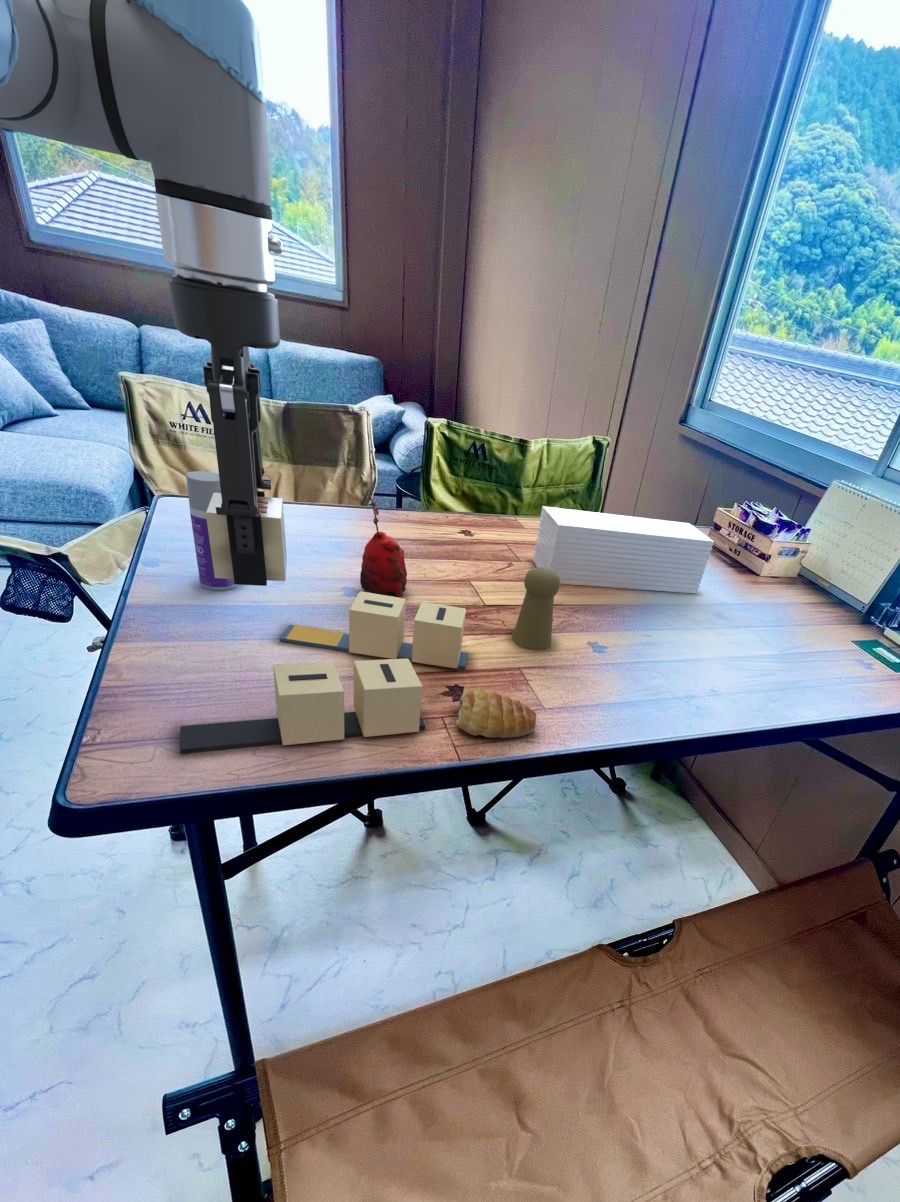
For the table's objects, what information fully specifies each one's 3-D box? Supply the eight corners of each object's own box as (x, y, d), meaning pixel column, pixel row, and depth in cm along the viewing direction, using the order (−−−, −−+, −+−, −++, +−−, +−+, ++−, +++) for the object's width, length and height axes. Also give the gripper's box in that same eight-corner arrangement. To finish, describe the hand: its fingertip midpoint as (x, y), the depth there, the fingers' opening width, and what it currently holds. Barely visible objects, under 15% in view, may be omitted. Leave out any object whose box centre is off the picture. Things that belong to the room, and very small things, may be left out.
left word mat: (180, 759, 59) (169, 701, 55) (181, 724, 63) (170, 668, 59) (427, 734, 70) (432, 684, 66) (413, 705, 74) (417, 656, 70)
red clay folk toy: (413, 599, 98) (419, 502, 89) (370, 602, 94) (372, 502, 86) (394, 580, 103) (398, 486, 94) (352, 582, 99) (352, 485, 90)
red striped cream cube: (214, 578, 57) (205, 511, 54) (221, 554, 62) (213, 491, 58) (285, 581, 59) (280, 517, 56) (286, 558, 64) (282, 497, 60)
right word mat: (276, 644, 79) (273, 596, 75) (291, 624, 84) (289, 578, 80) (464, 673, 82) (470, 628, 79) (468, 652, 87) (473, 609, 83)
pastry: (532, 713, 77) (537, 687, 75) (536, 746, 72) (542, 719, 70) (456, 705, 76) (459, 678, 73) (454, 738, 70) (458, 710, 68)
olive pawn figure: (558, 642, 95) (573, 573, 89) (537, 653, 91) (551, 582, 85) (526, 627, 97) (538, 559, 91) (504, 638, 93) (515, 567, 87)
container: (192, 585, 88) (176, 475, 79) (213, 574, 92) (199, 468, 83) (224, 593, 88) (211, 483, 79) (243, 582, 92) (232, 476, 83)
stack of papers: (674, 573, 133) (689, 523, 127) (696, 593, 125) (714, 541, 119) (532, 561, 123) (542, 506, 117) (547, 582, 115) (558, 524, 109)
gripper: (272, 298, 42) (293, 613, 55) (280, 285, 56) (295, 538, 69) (142, 273, 39) (197, 610, 52) (185, 267, 53) (219, 533, 66)
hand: (253, 569), depth 61 cm, fingers closed on red striped cream cube, 6 cm apart
